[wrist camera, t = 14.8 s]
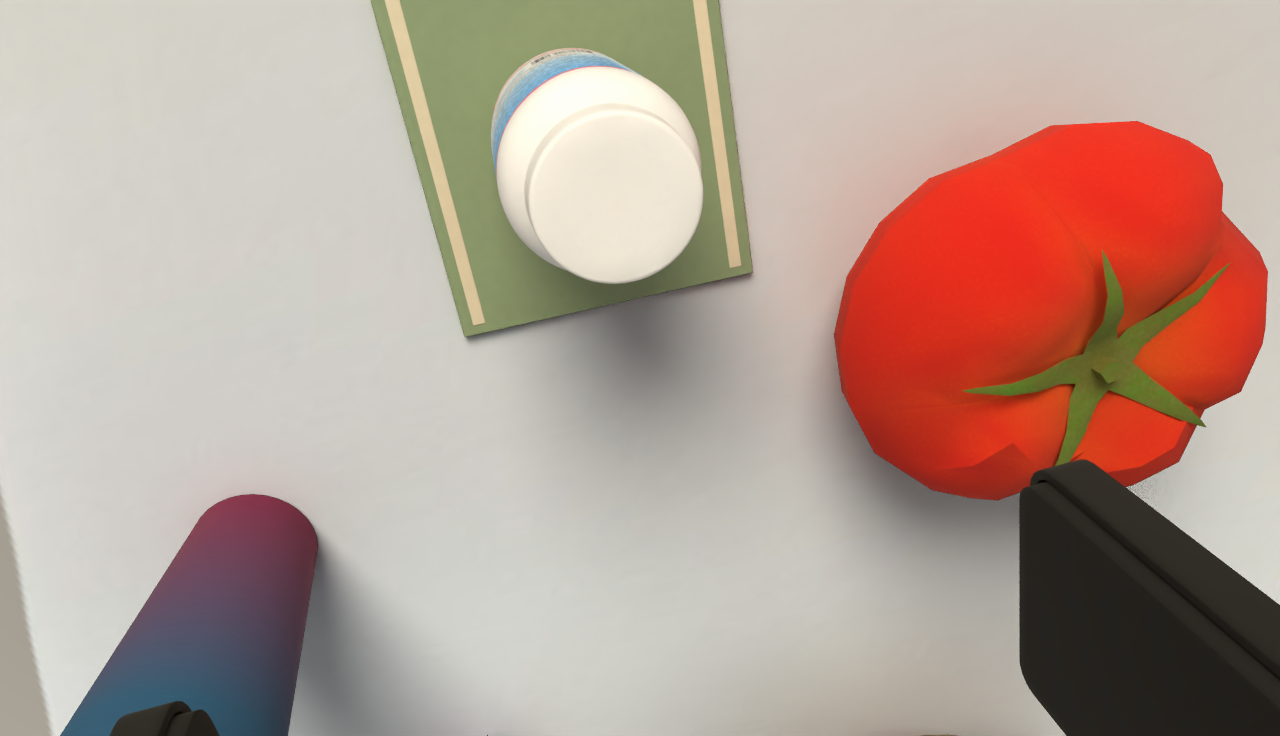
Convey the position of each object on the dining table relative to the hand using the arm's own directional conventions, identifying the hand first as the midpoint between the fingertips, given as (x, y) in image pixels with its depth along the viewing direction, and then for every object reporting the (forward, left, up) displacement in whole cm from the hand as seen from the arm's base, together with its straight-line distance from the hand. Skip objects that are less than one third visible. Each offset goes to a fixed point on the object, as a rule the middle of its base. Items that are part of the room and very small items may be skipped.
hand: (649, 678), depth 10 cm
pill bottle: (-2, +2, -27) cm, 27 cm away
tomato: (+8, +18, -27) cm, 34 cm away
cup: (+13, -15, -27) cm, 33 cm away
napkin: (-2, +2, -27) cm, 27 cm away
